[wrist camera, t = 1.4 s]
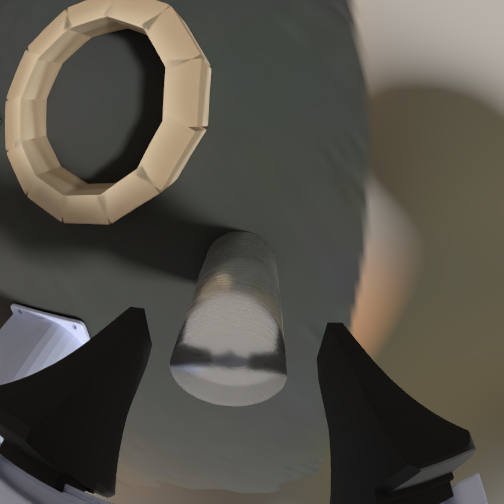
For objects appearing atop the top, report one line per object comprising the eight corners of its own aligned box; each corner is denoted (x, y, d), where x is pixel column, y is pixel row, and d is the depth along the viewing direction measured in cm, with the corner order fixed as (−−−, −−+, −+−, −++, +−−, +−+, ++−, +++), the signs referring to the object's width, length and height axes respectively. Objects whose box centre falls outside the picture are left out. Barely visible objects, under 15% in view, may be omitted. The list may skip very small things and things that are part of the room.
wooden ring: (38, 208, 15) (15, 221, 12) (38, 38, 9) (14, 34, 7) (205, 211, 15) (195, 228, 12) (218, -5, 9) (210, -25, 7)
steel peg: (206, 290, 17) (177, 399, 10) (205, 228, 15) (162, 327, 8) (272, 294, 17) (278, 408, 10) (279, 233, 15) (296, 338, 8)
